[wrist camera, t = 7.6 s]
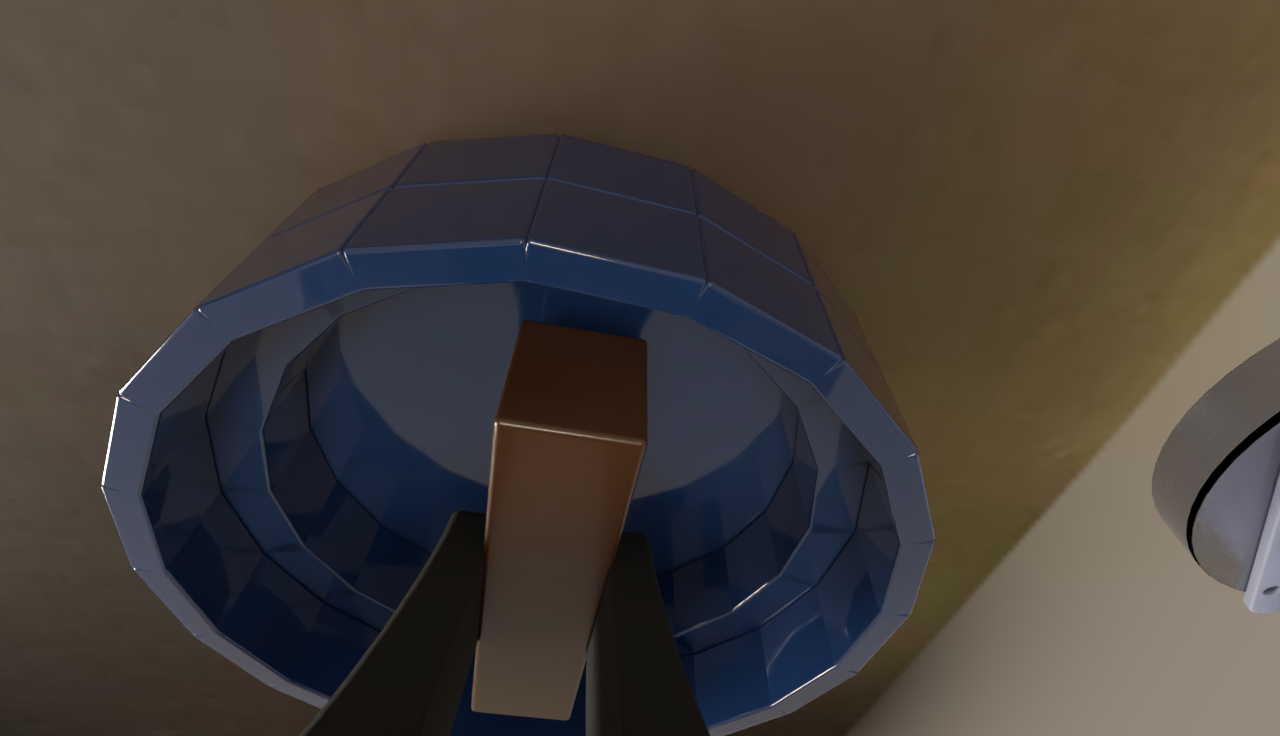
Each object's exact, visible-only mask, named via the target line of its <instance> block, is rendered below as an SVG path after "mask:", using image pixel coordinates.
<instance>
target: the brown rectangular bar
mask: <svg viewBox="0 0 1280 736" xmlns="http://www.w3.org/2000/svg"><path fill="white" fill-rule="evenodd" d="M647 445H648V379H647V342H646V340H644V339H641V338H635V337H628V336H622V335H616V334H610V333H604V332H598V331H592V330H586V329H580V328H574V327H568V326H562V325H556V324H550V323H544V322H538V321H532V320H524V321H523V322H522V323H521V325H520V328H519V331H518V335H517V339H516V342H515V346H514V350H513V353H512V357H511V360H510V364H509V368H508V371H507V375H506V379H505V382H504V386H503V389H502V393H501V397H500V400H499V404H498V407H497V411H496V415H495V418H494V423H493V436H492V449H491V461H490V474H489V486H488V499H487V512H486V524H485V537H484V549H483V550H484V553H485V557H484V569H483V581H482V594H481V606H480V618H479V630H478V642H477V646H476V650H475V663H474V676H473V688H472V701H471V708H472V711H475V712H483V713H493V714H503V715H514V716H524V717H534V718H545V719H555V720H569V718H570V716H571V713H572V709H573V706H574V702H575V699H576V695H577V692H578V688H579V685H580V681H581V678H582V674H583V671H584V667H585V664H586V655H587V650H588V647H589V643H590V639H591V636H592V632H593V629H594V625H595V622H596V618H597V614H598V611H599V607H600V604H601V600H602V597H603V593H604V589H605V586H606V582H607V579H608V575H609V572H610V569H612V567H613V565H614V561H615V558H616V554H617V551H618V547H619V544H620V540H621V536H622V533H623V529H624V526H625V522H626V519H627V515H628V512H629V508H630V505H631V501H632V498H633V494H634V491H635V487H636V484H637V480H638V476H639V473H640V469H641V466H642V462H643V459H644V455H645V452H646V448H647Z"/></svg>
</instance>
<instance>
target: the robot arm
mask: <svg viewBox="0 0 1280 736" xmlns="http://www.w3.org/2000/svg"><path fill="white" fill-rule="evenodd" d="M485 524H486V514H485V513H477V512H470V511H462V510H458V511H456V512H454V513H452V515H451V517H450V520H449V522H448V524H447V526H446V528H445V530H444V532H443V534H442V536H441V538H440V540H439V542H438V543H437V545H436V547H435V549H434V551H433V552H432V554H431V556H430V557H429V559H428V561H427V563H426V564H425V566H424V567H423V569H422V571H421V572H420V574H419V576H418V577H417V579H416V580H415V582H414V584H413V585H412V587H411V588H410V590H409V591H408V593H407V594H406V596H405V597H404V599H403V600H402V602H401V603H400V605H399V606H398V608H397V609H396V611H395V612H394V613H393V615H392V616H391V618H390V619H389V621H388V622H387V624H386V625H385V627H384V628H383V630H382V631H381V632H380V634H379V635H378V637H377V638H376V639H375V641H374V642H373V643H372V645H371V646H370V647H369V649H368V650H367V651H366V653H365V654H364V655H363V657H362V658H361V659H360V660H359V662H358V663H357V664H356V666H355V667H354V668H353V670H352V671H351V672H350V674H349V675H348V676H347V678H346V679H345V680H344V682H343V683H342V684H341V686H340V687H339V688H338V689H337V691H336V692H335V693H334V694H333V696H332V697H331V698H330V699H329V700H328V702H327V703H326V704H325V705H324V707H323V708H322V709H321V710H320V711H319V713H318V714H317V715H316V716H315V718H314V719H313V720H312V721H311V722H310V723H309V725H308V726H307V727H306V728H305V729H304V731H303V732H302V733H301V734H300V735H299V736H450V733H451V730H452V726H453V723H454V720H455V716H456V713H457V710H458V706H459V703H460V700H461V696H462V693H463V690H464V686H465V683H466V680H467V676H468V673H469V669H470V666H471V663H472V659H473V656H474V653H475V649H476V646H477V642H478V630H479V618H480V606H481V594H482V581H483V569H484V557H485V553H484V550H483V549H484V537H485ZM1243 601H1244V604H1245V605H1246V606H1247V608H1248V609H1249V610H1250V611H1251V612H1253V613H1258V614H1261V613H1268V612H1274V611H1280V473H1279V477H1278V480H1277V484H1276V487H1275V491H1274V494H1273V498H1272V501H1271V505H1270V509H1269V512H1268V516H1267V519H1266V523H1265V526H1264V530H1263V533H1262V537H1261V540H1260V544H1259V547H1258V551H1257V554H1256V558H1255V561H1254V565H1253V568H1252V572H1251V575H1250V579H1249V582H1248V586H1247V589H1246V593H1245V596H1244V600H1243ZM586 736H710V734H709V731H708V729H707V726H706V724H705V721H704V719H703V716H702V714H701V711H700V709H699V706H698V704H697V701H696V699H695V696H694V694H693V691H692V688H691V685H690V683H689V680H688V677H687V675H686V672H685V669H684V666H683V663H682V660H681V657H680V654H679V651H678V648H677V645H676V642H675V639H674V636H673V633H672V630H671V627H670V624H669V620H668V617H667V614H666V610H665V606H664V603H663V599H662V596H661V592H660V588H659V584H658V580H657V576H656V572H655V567H654V562H653V558H652V553H651V547H650V540H649V539H648V538H647V536H646V535H645V534H637V533H630V532H623V533H622V536H621V540H620V544H619V547H618V551H617V554H616V558H615V561H614V565H613V567H612V569H610V572H609V575H608V579H607V582H606V586H605V589H604V593H603V597H602V600H601V604H600V607H599V611H598V614H597V618H596V622H595V625H594V629H593V632H592V636H591V639H590V643H589V647H588V650H587V655H586Z"/></svg>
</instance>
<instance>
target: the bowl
mask: <svg viewBox="0 0 1280 736" xmlns="http://www.w3.org/2000/svg"><path fill="white" fill-rule="evenodd" d="M524 320H532V321H538V322H544V323H550V324H556V325H562V326H568V327H574V328H580V329H586V330H592V331H598V332H604V333H610V334H616V335H622V336H628V337H635V338H641V339H644V340H646V342H647V379H648V445H647V448H646V452H645V455H644V459H643V462H642V466H641V469H640V473H639V476H638V480H637V484H636V487H635V491H634V494H633V498H632V501H631V505H630V508H629V512H628V515H627V519H626V522H625V526H624V529H623V532H630V533H637V534H645V535H646V536H647V538H648V539H649V540H650V547H651V553H652V558H653V562H654V567H655V572H656V576H657V580H658V584H659V588H660V592H661V596H662V599H663V603H664V606H665V610H666V614H667V617H668V620H669V624H670V627H671V630H672V633H673V636H674V639H675V642H676V645H677V648H678V651H679V654H680V657H681V660H682V663H683V666H684V669H685V672H686V675H687V677H688V680H689V683H690V685H691V688H692V691H693V694H694V696H695V699H696V701H697V704H698V706H699V709H700V711H701V714H702V716H703V719H704V721H705V724H706V726H707V729H708V731H709V734H710V736H726V735H729V734H731V733H734V732H737V731H740V730H743V729H746V728H749V727H752V726H755V725H758V724H761V723H764V722H767V721H770V720H773V719H776V718H778V717H781V716H784V715H787V714H791V713H792V712H794V711H796V710H797V709H799V708H801V707H802V706H804V705H806V704H807V703H809V702H811V701H812V700H814V699H816V698H817V697H819V696H821V695H822V694H824V693H826V692H827V691H829V690H831V689H832V688H834V687H836V686H837V685H839V684H841V683H842V682H844V681H846V680H847V679H849V678H851V677H852V676H854V675H856V674H857V673H858V671H860V670H861V669H862V668H863V667H864V665H865V664H866V663H867V662H868V661H869V660H870V659H871V658H872V657H873V656H874V654H875V653H876V652H877V651H878V650H879V649H880V648H881V647H882V646H883V645H884V643H885V642H886V641H887V640H888V639H889V638H890V637H891V636H892V635H893V634H894V632H895V631H896V630H897V629H898V628H899V627H900V626H901V625H902V624H903V622H904V621H905V620H906V619H907V618H908V617H909V614H911V613H912V610H913V607H914V604H915V601H916V598H917V595H918V592H919V589H920V586H921V583H922V580H923V577H924V574H925V571H926V568H927V565H928V562H929V559H930V556H931V553H932V550H933V547H934V544H935V532H934V527H933V522H932V517H931V512H930V507H929V502H928V496H927V491H926V486H925V481H924V476H923V471H922V466H921V460H920V455H919V452H918V450H917V447H916V445H915V443H914V441H913V439H912V436H911V434H910V432H909V430H908V428H907V426H906V424H905V421H904V419H903V417H902V415H901V413H900V411H899V409H898V406H897V404H896V402H895V400H894V398H893V396H892V394H891V391H890V389H889V387H888V385H887V383H886V381H885V379H884V376H883V374H882V372H881V370H880V368H879V365H878V363H877V361H876V359H875V357H874V355H873V353H872V350H871V348H870V346H869V344H868V342H867V340H866V338H865V335H864V333H863V331H862V329H861V327H860V325H859V323H858V321H857V318H856V316H855V314H854V312H853V310H852V309H851V308H850V306H849V305H848V304H847V302H846V301H845V300H844V298H843V297H842V296H841V294H840V293H839V292H838V290H837V289H836V288H835V286H834V285H833V284H832V282H831V281H830V280H829V278H828V277H827V276H826V274H825V273H824V272H823V270H822V269H821V268H820V266H819V265H818V264H817V262H816V261H815V260H814V258H813V257H812V256H811V254H810V253H809V252H808V250H807V249H806V248H805V246H804V245H803V244H802V242H801V241H800V240H799V238H798V237H797V236H796V234H794V233H792V232H791V231H790V230H789V229H787V228H786V227H784V226H783V225H781V224H779V223H778V222H776V221H775V220H773V219H772V218H770V217H769V216H767V215H765V214H764V213H762V212H761V211H759V210H758V209H756V208H754V207H753V206H751V205H750V204H748V203H747V202H745V201H744V200H742V199H740V198H739V197H737V196H736V195H734V194H733V193H731V192H729V191H728V190H726V189H725V188H723V187H722V186H720V185H719V184H717V183H715V182H714V181H712V180H711V179H709V178H708V177H706V176H704V175H703V174H701V173H700V172H698V171H697V170H694V169H691V170H690V167H688V166H686V165H682V164H678V163H674V162H670V161H666V160H662V159H658V158H654V157H650V156H646V155H642V154H638V153H634V152H631V151H627V150H623V149H619V148H615V147H611V146H607V145H603V144H599V143H595V142H591V141H587V140H583V139H579V138H575V137H571V136H568V135H561V136H559V135H556V134H551V135H535V136H520V137H505V138H490V139H474V140H459V141H444V142H430V143H428V144H427V143H423V144H421V145H418V146H416V147H414V148H411V149H409V150H407V151H405V152H402V153H400V154H398V155H395V156H393V157H391V158H389V159H386V160H384V161H382V162H379V163H377V164H375V165H372V166H370V167H368V168H366V169H363V170H361V171H359V172H356V173H354V174H352V175H350V176H347V177H345V178H343V179H340V180H338V181H336V182H334V183H331V184H329V185H327V186H324V187H322V188H320V189H318V190H317V191H316V192H315V193H314V194H312V195H311V196H310V197H309V198H308V199H307V200H306V201H305V202H304V203H303V204H302V205H300V206H299V207H298V208H297V209H296V210H295V211H294V212H293V213H292V214H291V215H290V216H289V217H288V218H287V219H286V220H285V221H284V222H283V223H282V224H281V225H280V226H279V227H278V228H277V229H276V230H275V231H274V232H273V233H272V234H270V235H269V236H268V237H267V238H266V239H265V240H264V241H263V242H262V244H260V245H259V246H258V247H257V248H256V249H255V250H254V251H253V252H252V253H251V254H250V255H249V256H248V257H247V258H246V259H245V260H244V261H243V262H241V263H240V264H239V265H238V266H237V267H236V268H235V269H234V270H233V271H232V272H231V273H230V274H229V275H228V276H227V277H226V278H225V279H224V280H223V281H222V282H221V283H220V284H219V285H218V286H217V287H216V288H215V289H214V290H213V291H211V292H210V293H209V294H208V295H207V296H206V297H205V298H204V299H203V300H202V301H201V302H200V303H199V304H198V305H197V306H196V307H195V308H194V309H193V310H192V311H191V312H190V313H189V314H188V315H187V317H186V318H185V319H184V320H183V321H182V322H181V323H180V324H179V325H178V326H177V327H176V329H175V330H174V331H173V332H172V333H171V334H170V335H169V336H168V337H167V338H166V339H165V341H164V342H163V343H162V344H161V345H160V346H159V347H158V348H157V349H156V350H155V351H154V353H153V354H152V355H151V356H150V357H149V358H148V359H147V360H146V361H145V362H144V363H143V365H142V366H141V367H140V368H139V369H138V370H137V371H136V372H135V373H134V374H133V375H132V377H131V378H130V379H129V380H128V381H127V382H126V383H125V384H124V385H123V386H122V387H121V389H120V392H119V394H118V395H117V398H116V404H115V409H114V415H113V421H112V427H111V432H110V438H109V444H108V450H107V455H106V461H105V467H104V472H103V478H102V487H101V488H102V491H103V494H104V496H105V499H106V502H107V504H108V507H109V510H110V512H111V515H112V518H113V520H114V523H115V526H116V528H117V531H118V534H119V536H120V539H121V542H122V544H123V547H124V549H125V552H126V555H127V557H128V560H129V563H130V565H131V567H132V568H134V571H135V572H136V573H137V574H138V575H139V576H140V577H141V578H142V580H143V581H144V582H145V583H146V584H147V585H148V586H149V587H150V588H151V590H152V591H153V592H154V593H155V594H156V595H157V596H158V597H159V599H160V600H161V601H162V602H163V603H164V604H165V605H166V606H167V607H168V609H169V610H170V611H171V612H172V613H173V614H174V615H175V616H176V617H177V619H178V620H179V621H180V622H181V623H182V624H183V625H184V626H185V627H186V629H187V630H188V631H189V632H190V633H191V634H193V635H194V636H195V638H197V639H198V640H200V641H201V642H203V643H204V644H206V645H207V646H209V647H210V648H212V649H213V650H215V651H216V652H218V653H219V654H221V655H222V656H224V657H225V658H227V659H228V660H230V661H231V662H233V663H234V664H236V665H237V666H239V667H241V668H242V669H244V670H245V671H247V672H248V673H250V674H251V675H253V676H254V677H256V678H257V679H259V680H260V681H262V682H263V683H265V684H266V685H268V686H272V688H274V689H276V690H278V691H281V692H283V693H286V694H288V695H290V696H293V697H295V698H297V699H300V700H302V701H304V702H307V703H309V704H311V705H314V706H316V707H319V708H321V709H322V708H323V707H324V705H325V704H326V703H327V702H328V700H329V699H330V698H331V697H332V696H333V694H334V693H335V692H336V691H337V689H338V688H339V687H340V686H341V684H342V683H343V682H344V680H345V679H346V678H347V676H348V675H349V674H350V672H351V671H352V670H353V668H354V667H355V666H356V664H357V663H358V662H359V660H360V659H361V658H362V657H363V655H364V654H365V653H366V651H367V650H368V649H369V647H370V646H371V645H372V643H373V642H374V641H375V639H376V638H377V637H378V635H379V634H380V632H381V631H382V630H383V628H384V627H385V625H386V624H387V622H388V621H389V619H390V618H391V616H392V615H393V613H394V612H395V611H396V609H397V608H398V606H399V605H400V603H401V602H402V600H403V599H404V597H405V596H406V594H407V593H408V591H409V590H410V588H411V587H412V585H413V584H414V582H415V580H416V579H417V577H418V576H419V574H420V572H421V571H422V569H423V567H424V566H425V564H426V563H427V561H428V559H429V557H430V556H431V554H432V552H433V551H434V549H435V547H436V545H437V543H438V542H439V540H440V538H441V536H442V534H443V532H444V530H445V528H446V526H447V524H448V522H449V520H450V517H451V515H452V513H454V512H456V511H458V510H462V511H470V512H477V513H485V514H486V512H487V499H488V486H489V474H490V461H491V449H492V436H493V423H494V418H495V415H496V411H497V407H498V404H499V400H500V397H501V393H502V389H503V386H504V382H505V379H506V375H507V371H508V368H509V364H510V360H511V357H512V353H513V350H514V346H515V342H516V339H517V335H518V331H519V328H520V325H521V323H522V322H523V321H524ZM475 650H476V649H475ZM474 663H475V653H474V656H473V659H472V663H471V666H470V669H469V673H468V676H467V680H466V683H465V686H464V690H463V693H462V696H461V700H460V703H459V706H458V710H457V713H456V716H455V720H454V723H453V726H452V730H451V733H450V736H586V664H585V667H584V671H583V674H582V678H581V681H580V685H579V688H578V692H577V695H576V699H575V702H574V706H573V709H572V713H571V716H570V718H569V720H555V719H545V718H534V717H524V716H514V715H503V714H493V713H483V712H475V711H472V708H471V701H472V688H473V676H474Z"/></svg>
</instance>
